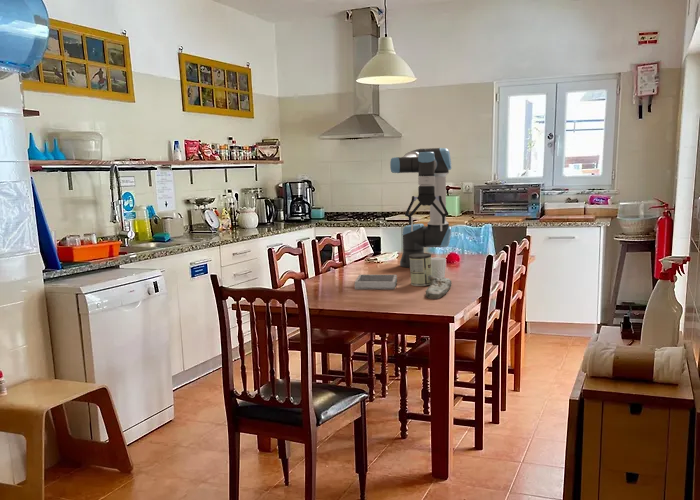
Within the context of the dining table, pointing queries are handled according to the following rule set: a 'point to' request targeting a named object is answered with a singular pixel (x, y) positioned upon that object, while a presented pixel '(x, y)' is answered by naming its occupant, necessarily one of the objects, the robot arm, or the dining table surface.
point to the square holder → (376, 282)
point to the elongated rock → (438, 287)
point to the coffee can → (420, 269)
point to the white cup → (438, 267)
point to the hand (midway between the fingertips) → (426, 231)
